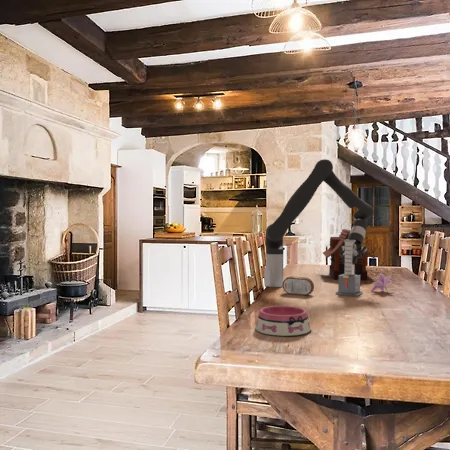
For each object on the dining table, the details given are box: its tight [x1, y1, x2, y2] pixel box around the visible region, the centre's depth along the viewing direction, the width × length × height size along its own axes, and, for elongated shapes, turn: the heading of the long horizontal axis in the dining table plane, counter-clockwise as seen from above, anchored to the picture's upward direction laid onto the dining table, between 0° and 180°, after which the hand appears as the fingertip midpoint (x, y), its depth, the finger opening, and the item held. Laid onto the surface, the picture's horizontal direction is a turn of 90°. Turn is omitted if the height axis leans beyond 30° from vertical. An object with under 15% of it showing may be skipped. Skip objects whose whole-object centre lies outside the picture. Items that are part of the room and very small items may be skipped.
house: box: [322, 228, 376, 281], centre depth 281 cm, size 35×28×29 cm
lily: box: [370, 272, 394, 294], centre depth 226 cm, size 12×12×10 cm
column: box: [344, 239, 356, 276], centre depth 221 cm, size 4×4×25 cm
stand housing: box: [335, 274, 364, 297], centre depth 221 cm, size 10×10×9 cm
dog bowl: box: [254, 305, 312, 338], centre depth 153 cm, size 18×19×7 cm
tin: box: [282, 276, 315, 296], centre depth 219 cm, size 15×3×8 cm, turn 65°
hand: (348, 263), depth 220 cm, fingers open, 4 cm apart
